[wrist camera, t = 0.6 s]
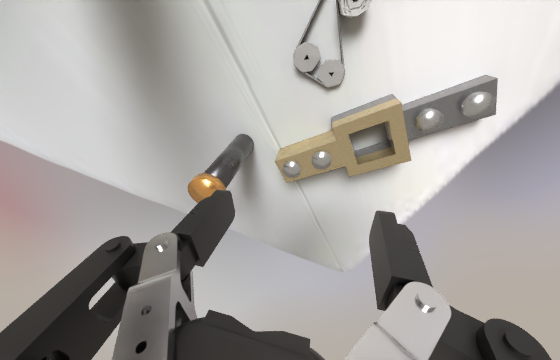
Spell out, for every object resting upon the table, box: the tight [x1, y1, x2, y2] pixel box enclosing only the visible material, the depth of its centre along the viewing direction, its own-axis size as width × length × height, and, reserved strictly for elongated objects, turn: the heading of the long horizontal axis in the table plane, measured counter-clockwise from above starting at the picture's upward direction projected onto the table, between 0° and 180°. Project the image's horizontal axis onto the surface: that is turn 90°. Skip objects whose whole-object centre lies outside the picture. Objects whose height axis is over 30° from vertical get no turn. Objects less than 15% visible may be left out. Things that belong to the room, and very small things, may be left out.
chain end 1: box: [275, 98, 411, 183], centre depth 28 cm, size 8×17×4 cm, turn 116°
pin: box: [188, 134, 254, 203], centre depth 28 cm, size 4×4×13 cm
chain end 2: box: [332, 75, 498, 157], centre depth 25 cm, size 8×17×3 cm, turn 116°
